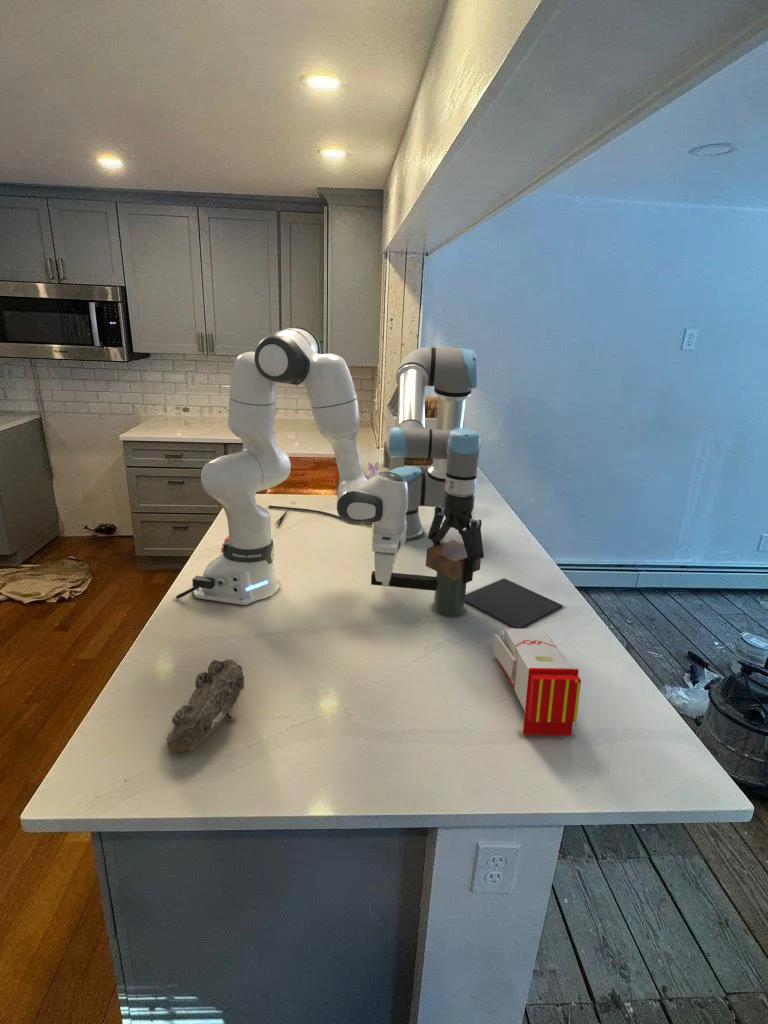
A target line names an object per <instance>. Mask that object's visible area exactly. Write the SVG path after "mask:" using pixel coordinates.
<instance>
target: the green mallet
mask: <svg viewBox="0 0 768 1024" xmlns="http://www.w3.org/2000/svg"><path fill="white" fill-rule="evenodd" d="M370 576H371V577H370V585H371V586H382V582H378V581H376V578H375V570H372V572H371V575H370ZM463 577H464V576H463ZM463 577H460V578H458V579H455V580H453V579H451V578H449V577H447V576H445V575H443V574H441V573H439V572H437V571H435V576H433V575H432V576H431V575H423V574H410V573H400V572H392V575H391V579H390V582H389V586H388V587H392V588H401V589H413V590H422V591H423V590H424V591H433V592H434V597H433V598H434V599H433V610H434V611H435V612H436V613H437V614H439V615H442V616H445V617H457V616H460V615H462V614H463V613H464V611H465V595H466V591H467V583H463ZM382 587H383V586H382Z"/></svg>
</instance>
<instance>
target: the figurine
mask: <svg viewBox="0 0 768 1024" xmlns="http://www.w3.org/2000/svg"><path fill="white" fill-rule="evenodd" d="M379 465H380V463H379V461H376V462H375V463H374V465H372V463H371V462H368V463H367V468H368V469H367V473H366V476H367V477H368V478H369V479H371V478H373V477H374V476H376V475H377V474H378V473H379V471H378V469H379Z"/></svg>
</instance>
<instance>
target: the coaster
mask: <svg viewBox="0 0 768 1024" xmlns="http://www.w3.org/2000/svg"><path fill="white" fill-rule="evenodd" d="M464 604H467V605H469V606H471V607H473V608H474V609H477V610H478V611H481V612H482V613H484V614H486V615H488V616H489V617H492V618H493V619H495V620H497V621H499V622H501V623H502V624H505V625H507V626H509V628H515V629H524V628H525V627H527V626H529V625H531V624H533V623H535V622H537V621H538V620H540V619H543V618H544V617H546V616H548V615H550V614H552V613H554V612H556V611H558V610H559V609H562V608H563V604H561V603H559V602H557V601H554V600H553V599H551V598H548V597H546V596H543V595H542V594H539V593H537V592H535V591H533V590H531V589H529V588H526V587H524V586H522V585H519V584H517V583H516V582H514V581H511V580H509V579H507V578H502V579H500V580H497V581H495V582H492V583H490V584H488V585H485V586H483V587H480V588H478V589H476V590H473V591H470V592H468V593H465V602H464Z"/></svg>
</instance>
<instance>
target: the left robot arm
mask: <svg viewBox="0 0 768 1024" xmlns="http://www.w3.org/2000/svg"><path fill="white" fill-rule="evenodd" d="M321 351H322V350H321V343H320V341H319V339H318V337H317V336H316V335H315V334H314V333H313V332H312V331H311V330H309V329H307V328H305V327H300V326H295V327H289V328H282V329H280V330H278V331H276V332H274V333H271V334H268V335H266V336H265V337H264V338H262V339H261V340H260V341H259V343H258V344H257V346H256V348H255V351H246V352H243V353H240V354H239V355H238V356H237V357H236V359H235V361H234V364H233V368H232V373H231V376H230V385H229V395H228V413H227V417H228V418H227V426H228V429H229V430H230V432H231V433H232V434H233V435H235V436H236V437H237V438H239V439H241V441H242V449H241V451H239V452H234V453H230V454H229V453H228V454H225V455H221V456H219V457H216V458H214V459H212V460H210V461H208V462H206V463H205V464H204V465H203V467H202V469H201V473H200V482H201V486H202V488H203V491H204V492H205V493H206V494H207V495H208V496H209V497H210V498H211V499H213V500H214V501H216V502H218V503H219V504H220V505H221V507H222V508H223V511H224V513H225V516H226V519H227V529H228V535H227V536H226V537H225V538H224V542H223V543H222V546H221V548H220V553H221V554H220V555H218V556H217V557H216V558H214V559H212V560H211V561H210V562H209V563H208V564H207V565H206V567H205V569H204V571H203V573H202V575H195V576H194V577H193V578H192V580H191V581H192V587H190V588H189V589H187V590H185V591H183V592H181V593H179V594H176V596H175V598H176V599H177V600H179V599H181V598H183V597H185V596H187V595H189V594H190V593H193V596H194V597H195V598H196V599H202V600H209V601H213V602H214V601H215V602H221V603H227V604H233V605H241V606H247V605H250V604H252V603H254V602H257V601H260V600H265V599H267V598H269V597H271V596H273V595H275V594H276V593H277V592H278V591H279V587H280V586H279V583H278V579H277V577H276V573H275V567H274V566H275V565H274V559H275V545H274V540H273V538H272V515H271V514H270V512H269V511H268V509H267V508H266V507H264V506H262V505H259V504H258V503H257V500H256V493H258V492H261V491H265V490H268V489H271V488H272V489H273V488H274V487H276V486H278V485H280V484H282V483H283V482H284V481H286V480H287V479H288V478H289V476H290V474H291V469H292V466H291V465H292V464H291V460H290V457H289V455H288V454H287V453H286V452H285V451H284V450H283V448H281V447H280V446H279V444H278V442H277V438H276V434H275V417H276V402H277V401H276V400H277V389H278V385H279V384H287V385H293V386H299V385H301V384H302V385H303V386H304V387H305V389H306V392H307V395H308V398H309V403H310V407H311V412H312V415H313V418H314V421H315V424H316V427H317V429H318V431H319V433H320V435H322V437H323V438H325V439H327V441H328V442H329V443H330V445H331V447H332V450H333V453H334V458H335V462H336V467H337V471H338V482H337V486H336V511H337V514H338V515H337V516H339V517H340V518H341V519H340V520H342V521H343V522H344V523H346V524H347V525H351V526H362V525H363V524H370V523H372V525H371V541H372V544H371V545H372V546H371V551H372V552H374V553H373V554H374V556H373V557H374V560H373V561H374V571H375V578H376V581H378V582H382V587H390V586H389V582H390V579H391V575H392V573H393V570H394V568H395V564H396V560H397V556H398V553H399V551H400V548H401V547H402V546H403V545H404V544H405V543H406V541H407V540H406V528H407V521H406V512H407V510H408V485H407V482H406V480H405V479H404V478H403V477H402V476H400V475H398V474H396V473H392V472H390V471H380V472H379V471H378V474H377V475H376V476H374V477H373V478H371V479H369V478H368V477H367V476H366V475H367V473H365V472H364V469H363V466H362V462H361V461H362V460H361V457H360V451H359V447H358V432H359V428H360V407H359V401H358V396H357V391H356V388H355V383H354V381H353V376H352V375H351V372H350V369H349V367H348V364H347V362H346V360H345V359H344V358H343V357H342V356H340V355H339V354H336V353H322V352H321Z"/></svg>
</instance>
